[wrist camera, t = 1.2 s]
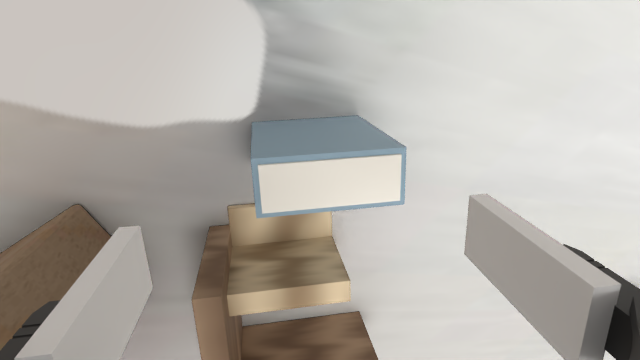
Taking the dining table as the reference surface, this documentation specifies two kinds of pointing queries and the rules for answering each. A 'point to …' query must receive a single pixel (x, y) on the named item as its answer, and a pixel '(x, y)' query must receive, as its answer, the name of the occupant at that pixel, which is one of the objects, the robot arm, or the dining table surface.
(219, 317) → the shelf corner
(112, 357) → the robot arm
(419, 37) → the dining table surface
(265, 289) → the bookend
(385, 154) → the book box
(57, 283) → the wooden block
